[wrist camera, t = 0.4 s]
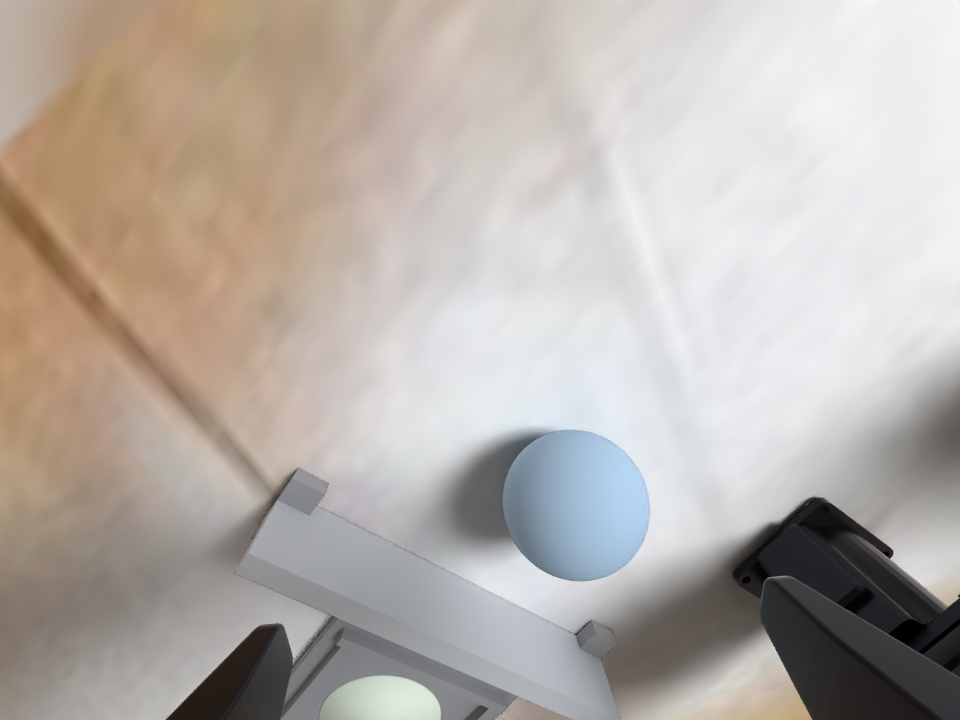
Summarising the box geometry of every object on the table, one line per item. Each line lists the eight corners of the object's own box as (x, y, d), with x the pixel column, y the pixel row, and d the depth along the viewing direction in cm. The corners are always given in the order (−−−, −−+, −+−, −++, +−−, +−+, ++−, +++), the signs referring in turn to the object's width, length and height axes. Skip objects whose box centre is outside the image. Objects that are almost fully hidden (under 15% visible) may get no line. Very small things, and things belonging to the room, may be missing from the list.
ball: (642, 447, 22) (712, 535, 16) (564, 531, 23) (603, 639, 17) (548, 382, 20) (588, 454, 14) (470, 477, 21) (479, 576, 16)
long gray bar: (611, 630, 26) (640, 704, 22) (568, 672, 27) (588, 749, 23) (298, 468, 21) (265, 528, 17) (257, 526, 22) (218, 596, 18)
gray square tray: (521, 680, 27) (525, 701, 25) (411, 789, 29) (410, 812, 28) (345, 602, 24) (340, 622, 22) (241, 731, 26) (232, 755, 25)
